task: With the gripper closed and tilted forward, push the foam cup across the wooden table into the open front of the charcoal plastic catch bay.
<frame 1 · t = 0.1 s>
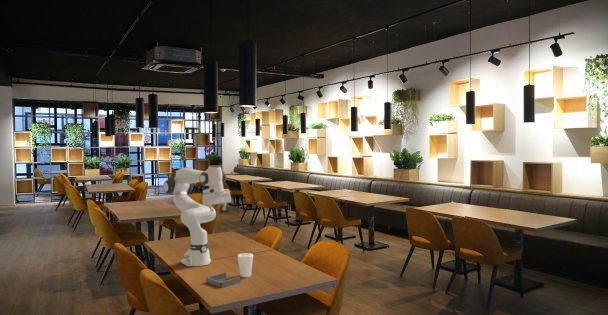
hand: (218, 210, 271), 39 cm above the table, tool pointing down, fingers open, 8 cm apart
catch bay: (223, 282, 247), on the table
foam cup: (245, 276, 259), on the table
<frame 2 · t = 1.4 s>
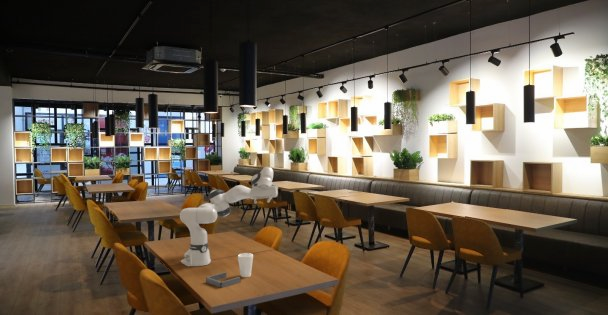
hand: (261, 202, 284), 42 cm above the table, tool tilted 40°, fingers open, 8 cm apart
nothing on the table moved.
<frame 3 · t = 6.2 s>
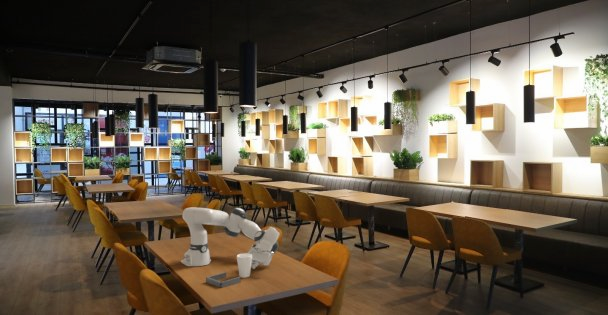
hand: (252, 268, 262), 4 cm above the table, tool tilted 45°, fingers closed, pressing on foam cup
foam cup: (244, 276, 259), on the table, touching gripper
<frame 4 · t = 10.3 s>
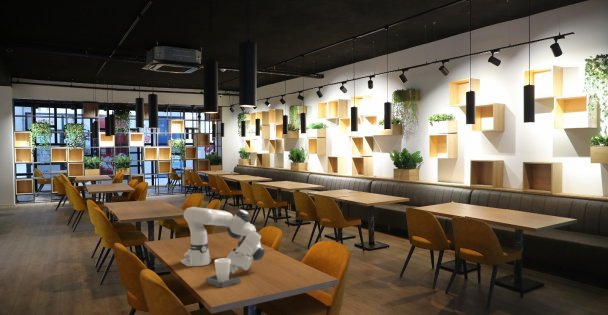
hand: (231, 272, 251), 4 cm above the table, tool tilted 45°, fingers closed
foam cup: (222, 282, 248), on the table
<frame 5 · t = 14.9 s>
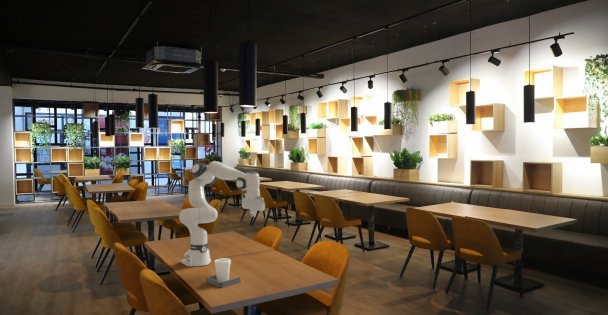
hand: (253, 216, 278), 34 cm above the table, tool pointing down, fingers closed
nothing on the table moved.
at the end: foam cup inside the target area (0.7 cm from its centre), on the table; foam cup tilted 0° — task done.
